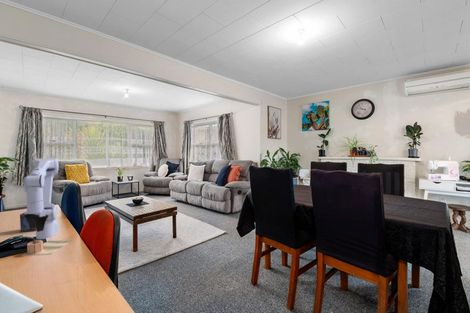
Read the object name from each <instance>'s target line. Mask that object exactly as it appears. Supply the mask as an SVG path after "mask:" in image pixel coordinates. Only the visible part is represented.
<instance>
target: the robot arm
mask: <svg viewBox="0 0 470 313" xmlns="http://www.w3.org/2000/svg"><path fill="white" fill-rule="evenodd" d="M59 162H60V161H59V159H58V158H57V157H52V158H51V157H50V158H48V157H47V158H35V159H34V161H33V166H34V168H32V170H31V171H30V174H29V175H27V176H26V177H23V187H24V192H25V193H26V211H24V212H23V213H24V214H26V215H24V217H25V218H26V220H27V222H28V224H29V227H30V229H33V228H36V231H35V240H44V239H45V240H46V239H49V238H50V239H51V238H52V237H54V236H55V235H56V234H59V232H60V231H59V222H58V221H57V216H58V211H57V210H58V207H57V206H56V204H54V203H52V194H53V192H52V191H53V183H54V182H53V181H54V180H53V179H54V178H55V175H57V174H58V173H59V167H60V165H59Z"/></svg>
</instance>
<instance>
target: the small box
mask: <svg viewBox="0 0 470 313" xmlns="http://www.w3.org/2000/svg"><path fill="white" fill-rule="evenodd" d="M24 215H26V214H24V212H22V213H20V214H19V222H20V223H19V224H20V232H21V233H22V232H25V233H26V232H36V228H33V229H30V227H29V224H28V222H27V220H26V218H25V217H24Z"/></svg>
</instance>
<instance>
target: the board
mask: <svg viewBox="0 0 470 313" xmlns="http://www.w3.org/2000/svg"><path fill="white" fill-rule="evenodd" d="M37 241H38V239H33V240H32V242H33V244H36V243H37ZM72 241H73V239H59V240H58V239H57V240H56V239H54V240H48V241H46V242H43V250H42V251H40V252H38V253H35V254H28V253H27V252H25V253H23V254H22V255H20V257H31V256H47V255H52V254H53V253H56V251H59V249H61V248H63V247H64V246H66V245H67V244H69V243H71V242H72Z"/></svg>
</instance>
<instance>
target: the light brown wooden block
mask: <svg viewBox="0 0 470 313" xmlns="http://www.w3.org/2000/svg"><path fill="white" fill-rule="evenodd" d="M43 244H44V241H43V239H37V243H36V244H33V241H30V242H28V243H27V244H26V246H27V247H26V248H27V252H26V253H28V254H35V253H38V252H40V251H42V250H43Z"/></svg>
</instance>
